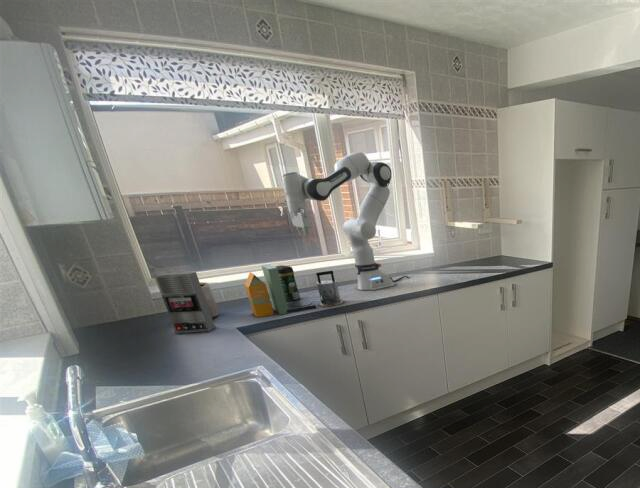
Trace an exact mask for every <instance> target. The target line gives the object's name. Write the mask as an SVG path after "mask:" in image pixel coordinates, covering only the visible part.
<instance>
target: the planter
mask: <svg viewBox="0 0 640 488" xmlns="http://www.w3.org/2000/svg"><path fill="white" fill-rule="evenodd" d="M200 285H201V288H202V291H203V294H204V296H205V299H206V302H207V305H208V308H209V311H210V314H211V316H212V319H213V320H214V319H215V318H217V317H218V316H219V315H220V312H219V309H218V308H219V307H218V306H217V303H216V300H215V297H214V294H213V292H212V289H211V286H210V283H208V282H200Z"/></svg>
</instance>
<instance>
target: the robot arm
mask: <svg viewBox="0 0 640 488" xmlns="http://www.w3.org/2000/svg"><path fill="white" fill-rule="evenodd" d="M392 174H393V173H392V168H391V167H390V166H389V164H387V163H385V162H381V161H370V160H369V158H368V157H367V155H366V154H365V153H364V152H362V151H355V152H352V153H349V154H346V155H345V156H343V157H342V158H340V159H338V160H337V161H336V162H335V163H334V172H332V173H330V174H328V175H327V176H326V177H324V178H312V179H311V178H308V177H306V176H303V175H301V174H300V173H299V172H297V171H292V172H287V173H284V174H283V175H282V177H281V182H282V187H283V192H284V194H285V197H286V204H287V206H286V211H287V212H288V213H289V217H290V219H291V224H292V225H293V227H296V230H297V232H298V234H299V236H300V237H304V238H310V233H309V232H310V231H309V229H310V228H311V227H312V224H311V220H310V217H309V216H310V215H309V214H308V211H309V209H308V205H307V200H310V201H319V202H323V201H326V200H328V198H330V196H331V194H332V193H333V191H335V190H336V189H338V187H340V186H342V185H343V184H345V183H349V182H351V181H354V180H355V179H357V178H359V177H360V179H361V180H362V181H364V182H366V183H369V184H370V186H369V187H370V188H369V190H368V192H367V194H366V195H365V197H364V199H363V200H362V201H361V204H360V206H359V209H360V211H359V214H358V217H357V218H350V219H348V220H346V221H345V222H343V227H342V230H343V232H344V234H345V235H346V237H347V239H348V241H349V244H350V246H351V250H352V253H353V258H354V263H355V264H354V267H355V268H354V269H355V273H356V276H357V285H356V286H357V287H356V289H357V290H360V291H370V290H372V291H376V290H380V289H386V288H389V287H394V286H396V283H395V282H398V281H400V280H402V279H404V278H407V279H410V277H409V276H408V275H404V276H401V277H398V278H397V279H395V280H393V277H391V276H390V275H389V274H388V273H387V272H385V271H383V270H382V269H381V267H382V264H381V263H378V262H377V263H376V261H375V256H374V255H375V254H374V249H373V248H372V246H371V245H370V243H369V242H370V241H369V240H371V239H373V238H374V237H375V236H376V234H377V228H376V226H377V224H378V220H379V217H380V215H381V214H382V211H383V210H384V208H385V206H386V204H387V203H388V200H389V197H390V193H391V192H390V191H391V190H390V188H389V187H388V186H389V185H390V183H391V179H392V176H393V175H392Z"/></svg>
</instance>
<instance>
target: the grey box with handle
mask: <svg viewBox="0 0 640 488" xmlns="http://www.w3.org/2000/svg"><path fill="white" fill-rule="evenodd" d="M315 275H316V278H317V281H316V286H317V290H318V294H319V299H320V303H322V304H323V305H333V304H337V303H340V302H341V300H342V299H341V297H340V291H339V286H338V281H337V280H335V276H334V271H333V270H327V271H319V272H316V273H315ZM327 275H330V277H331V279H325V280H321V277H320V276H327Z"/></svg>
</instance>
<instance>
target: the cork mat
mask: <svg viewBox="0 0 640 488" xmlns="http://www.w3.org/2000/svg"><path fill="white" fill-rule="evenodd" d="M340 300H341V302H340V303H337V304H333V305H323V304H322V303H321V302H320V303H319V306H320V307H334V306H338V305H342V304H344V300H343V299H340Z"/></svg>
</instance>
